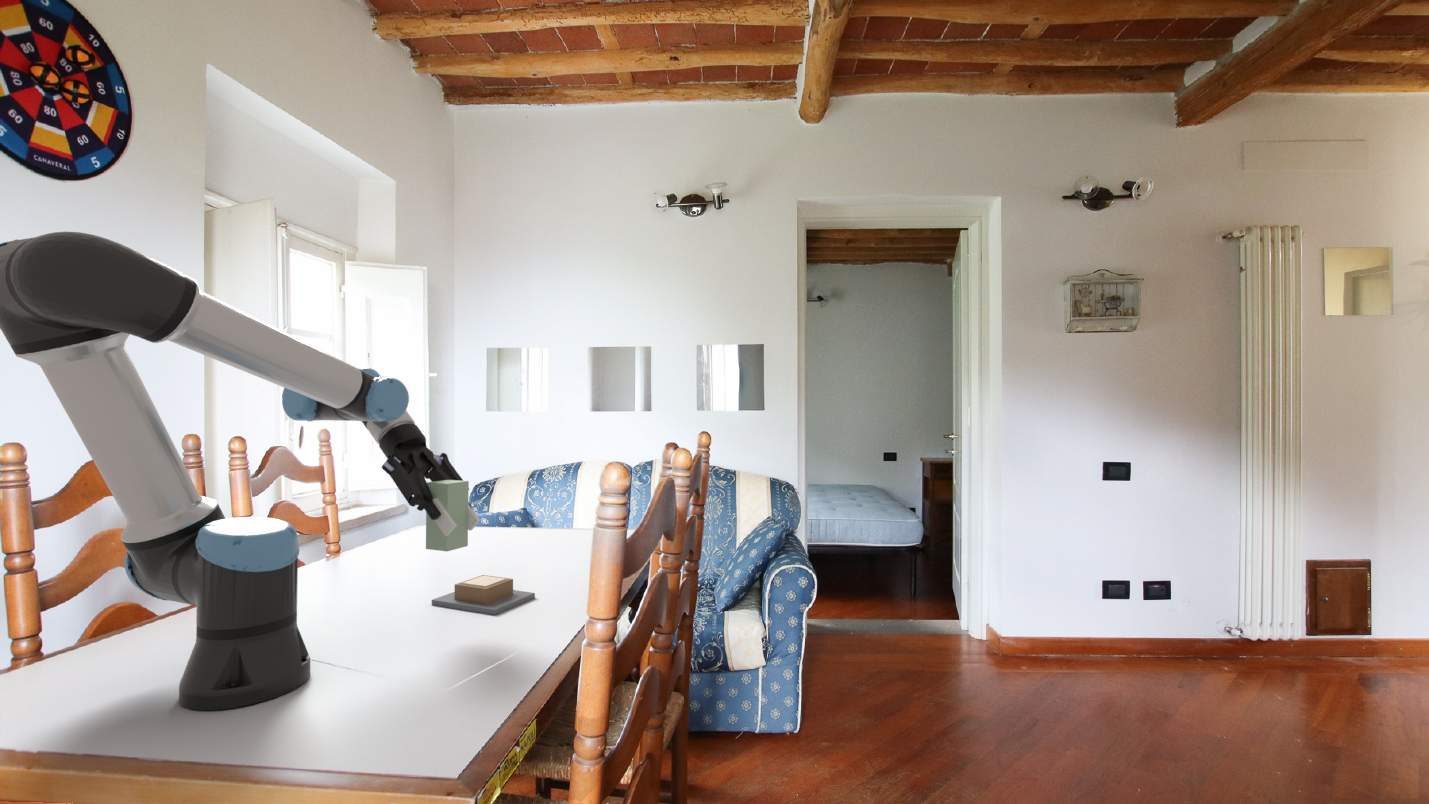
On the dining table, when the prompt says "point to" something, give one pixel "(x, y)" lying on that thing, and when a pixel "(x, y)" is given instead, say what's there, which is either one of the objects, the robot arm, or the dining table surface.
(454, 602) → the build base
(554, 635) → the dining table surface
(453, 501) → the sage block
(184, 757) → the dining table surface
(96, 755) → the dining table surface
